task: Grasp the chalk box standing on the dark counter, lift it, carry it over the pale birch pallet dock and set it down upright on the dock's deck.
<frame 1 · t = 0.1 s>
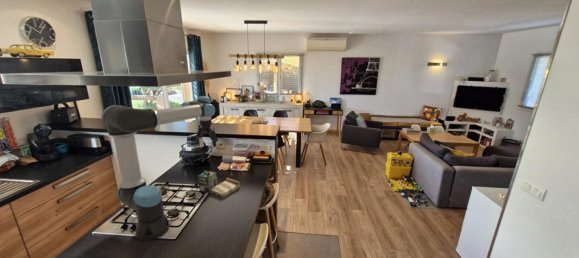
hand: (207, 148, 159), 28 cm above the countertop, fingers open, 13 cm apart
chalk box: (208, 189, 161), on the countertop
dock: (225, 190, 159), on the countertop
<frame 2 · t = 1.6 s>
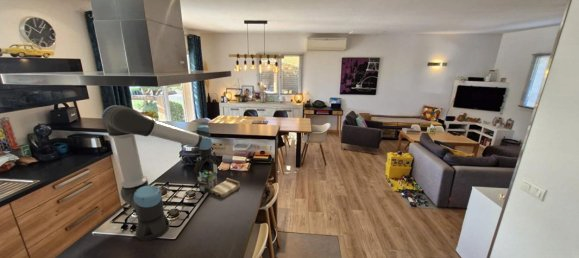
hand: (208, 176, 158), 9 cm above the countertop, fingers open, 13 cm apart
nothing on the countertop moved.
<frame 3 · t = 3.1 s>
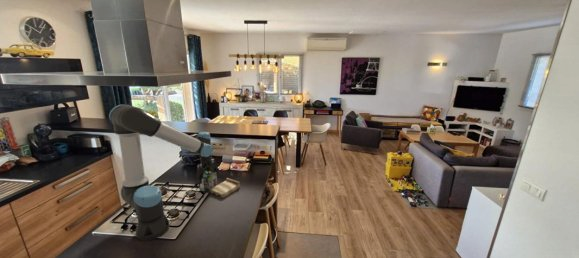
hand: (208, 184, 160), 4 cm above the countertop, fingers closed on chalk box, 10 cm apart
chalk box: (208, 189, 161), on the countertop, touching gripper
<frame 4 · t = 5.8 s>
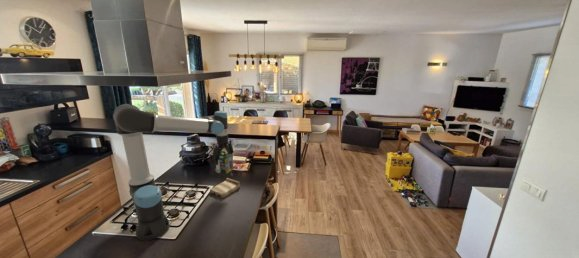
hand: (223, 166, 154), 18 cm above the countertop, fingers closed on chalk box, 10 cm apart
chalk box: (224, 171, 155), point 15 cm above the countertop, touching gripper
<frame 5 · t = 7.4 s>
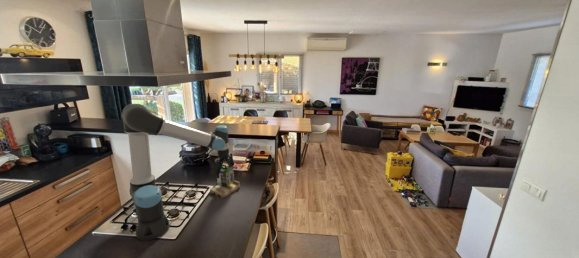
hand: (224, 178, 157), 9 cm above the countertop, fingers closed on chalk box, 10 cm apart
chalk box: (225, 183, 158), point 5 cm above the countertop, touching gripper
when the fingers open (7 cm above the countertop, at t = 8.7 s): chalk box stays where it is, resting on dock.
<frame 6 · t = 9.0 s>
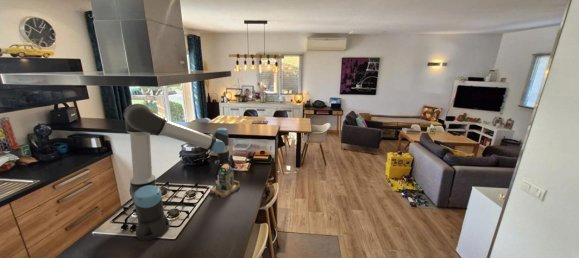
hand: (224, 179, 157), 8 cm above the countertop, fingers open, 12 cm apart
chalk box: (225, 186, 158), point 3 cm above the countertop, touching dock
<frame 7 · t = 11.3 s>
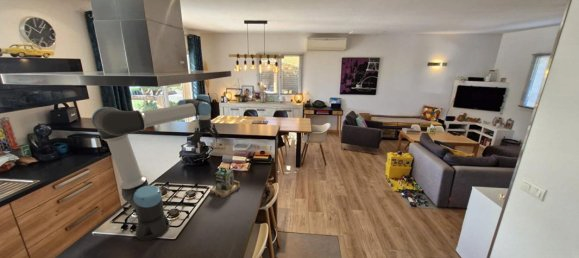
hand: (206, 149, 152), 30 cm above the countertop, fingers open, 13 cm apart
nothing on the countertop moved.
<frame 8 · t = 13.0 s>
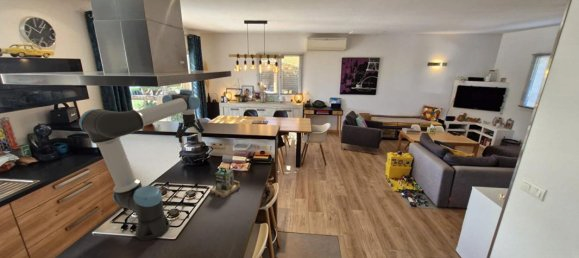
hand: (191, 144, 153), 33 cm above the countertop, fingers open, 13 cm apart
nothing on the countertop moved.
at the end: chalk box inside the target area on the dock (0.2 cm from its centre), point 2.8 cm above the dock's base; chalk box tilted 0°; the gripper is holding nothing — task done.
